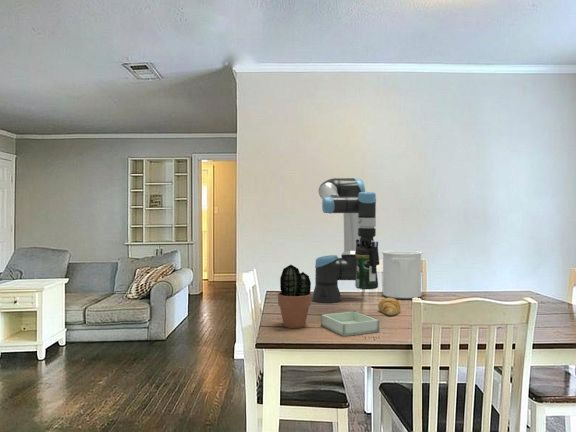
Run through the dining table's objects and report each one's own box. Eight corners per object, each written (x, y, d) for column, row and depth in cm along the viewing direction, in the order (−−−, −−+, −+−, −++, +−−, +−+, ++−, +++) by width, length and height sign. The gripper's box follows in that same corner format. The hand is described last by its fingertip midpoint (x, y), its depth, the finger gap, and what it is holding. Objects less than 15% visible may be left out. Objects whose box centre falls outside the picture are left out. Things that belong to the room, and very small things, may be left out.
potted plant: (300, 331, 183) (300, 267, 183) (271, 326, 190) (271, 265, 190) (317, 324, 195) (317, 263, 194) (289, 320, 202) (289, 262, 202)
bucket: (380, 292, 272) (380, 249, 271) (418, 293, 269) (419, 250, 268) (383, 300, 246) (383, 253, 246) (425, 301, 243) (425, 254, 243)
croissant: (396, 325, 208) (405, 309, 207) (376, 313, 209) (384, 298, 208) (394, 313, 229) (402, 299, 228) (375, 303, 230) (383, 289, 229)
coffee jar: (374, 286, 210) (374, 244, 209) (380, 289, 202) (380, 246, 201) (353, 286, 208) (353, 245, 208) (357, 290, 201) (358, 246, 200)
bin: (321, 325, 192) (321, 314, 192) (354, 321, 199) (354, 311, 199) (343, 336, 176) (343, 324, 176) (379, 331, 182) (379, 320, 182)
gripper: (346, 226, 212) (346, 276, 213) (373, 229, 193) (373, 284, 194) (360, 226, 215) (360, 275, 216) (388, 228, 196) (388, 282, 197)
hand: (366, 279), depth 205 cm, fingers closed on coffee jar, 8 cm apart
